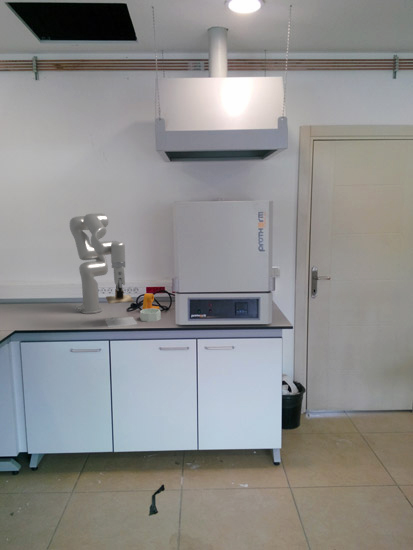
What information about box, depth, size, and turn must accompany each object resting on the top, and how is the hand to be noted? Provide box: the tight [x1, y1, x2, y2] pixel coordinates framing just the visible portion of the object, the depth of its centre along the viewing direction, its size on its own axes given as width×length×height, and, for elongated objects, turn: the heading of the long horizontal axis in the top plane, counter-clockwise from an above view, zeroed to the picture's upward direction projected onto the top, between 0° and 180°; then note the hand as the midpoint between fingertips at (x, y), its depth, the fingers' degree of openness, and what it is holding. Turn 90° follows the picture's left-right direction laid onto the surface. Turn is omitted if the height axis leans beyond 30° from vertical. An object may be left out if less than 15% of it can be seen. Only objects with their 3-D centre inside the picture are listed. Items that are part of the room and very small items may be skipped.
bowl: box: [139, 308, 162, 323], centre depth 223 cm, size 11×11×6 cm
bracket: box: [141, 292, 160, 310], centre depth 239 cm, size 11×7×12 cm, turn 166°
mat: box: [104, 316, 138, 328], centre depth 218 cm, size 16×16×1 cm
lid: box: [105, 288, 135, 305], centre depth 216 cm, size 14×14×6 cm
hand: (119, 296), depth 216 cm, fingers closed on lid, 4 cm apart
